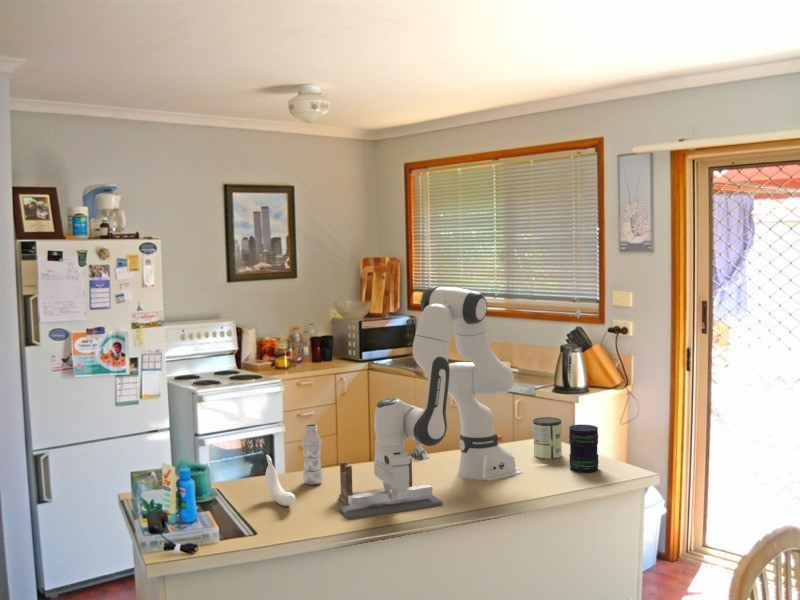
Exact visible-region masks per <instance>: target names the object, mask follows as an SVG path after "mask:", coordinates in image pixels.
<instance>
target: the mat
mask: <svg viewBox="0 0 800 600" xmlns="http://www.w3.org/2000/svg"><path fill="white" fill-rule="evenodd" d="M443 503H444V502H443V500H440V499H439V498H438V497H436V496H434V494H432V495H428V496H422V497H415V498H409V499H402V500H396V501H389V502H382V503H376V504H369V505H362V506H356V507H351V506H350V505H343V506H339V507H338V511H339V512H341V514H342V515H343V516H344V517H345V518H346V519H347V520H355V519H359V518H365V517H366V518H368V517H372V516H379V515H386V514H393V513H398V512H399V513H400V512H405V511H412V510H420V509H423V508H424V509H425V508H431V507H432V508H433V507H437V506H443Z"/></svg>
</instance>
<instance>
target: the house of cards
mask: <svg viewBox="0 0 800 600" xmlns="http://www.w3.org/2000/svg"><path fill="white" fill-rule="evenodd" d="M409 457H410V458H412V459H417V460H422V461H424V460H428V459H430V457H429V455H428V453H427V450H426V449H425V448H423V444H422V443H420V442H419V441H417V442H416V447H415V448H414V449H413V451H412V452H411V454H410V455H409Z"/></svg>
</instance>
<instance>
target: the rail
mask: <svg viewBox="0 0 800 600" xmlns="http://www.w3.org/2000/svg"><path fill="white" fill-rule="evenodd" d="M391 491H392V490H386V491H379V492H372V493H365V494H358V495H351V496H348V504H347V505H348V506H351V507H356V506H362V505H369V504H376V503H382V502H389V501H392V500H391V499H390V494H391ZM428 495H433V486H432V485H430V484H429V483H428V484H422V485H416V486H415V485H414V486H413V485H412V487H408V490H407V491H401V492H398V495H397V498H398V499H397V500H402V499H409V498H415V497H422V496H428Z"/></svg>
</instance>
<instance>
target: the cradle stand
mask: <svg viewBox="0 0 800 600" xmlns="http://www.w3.org/2000/svg"><path fill="white" fill-rule="evenodd" d="M412 465H413V457H410V464H408V466H409V487H413V466H412ZM339 475H340V477H339V478H340V479H339V480H340V493H339V494H338V499H339V501H341V502H342V503H343V504H345V505H349V504H348V496H351V495H358V494H365V493H372V492H379V491H385V489H384V487H383V488H382V487H381V488H375V489H368V490H362V491H354V492H353V467H352V465H348V462H347V461H341V462H339Z"/></svg>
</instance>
